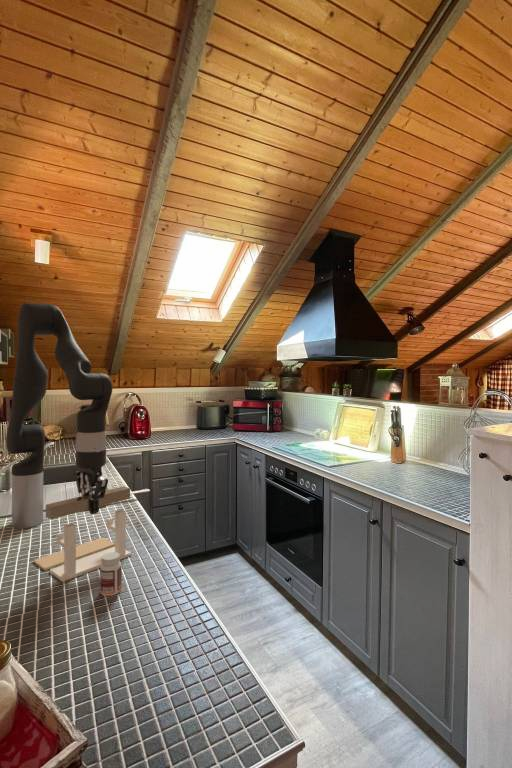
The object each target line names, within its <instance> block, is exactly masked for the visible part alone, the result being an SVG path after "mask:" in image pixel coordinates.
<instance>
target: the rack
mask: <svg viewBox="0 0 512 768" xmlns="http://www.w3.org/2000/svg"><path fill="white" fill-rule="evenodd" d="M114 514H115V515H114V518H113V517H110V518H106V528H107V529H109V530H111V531H113V532H114V543H115V546H113V547H110V548H108V549H105V550H102V551H99V552H96V553H93V554H91V555H88V556H85V557H82V558H79V559H76V546H77V526H76V525H77V524H74V523H68V524H65V525H64V526H63V528H64V529H63V531H62V532H57V533H56V544H58V545H59V546H61V547H62V548H63V550H64V564H62V565H59V566H57V567H54V568H51V569H49V573H50V574H51V575H52V576H54V577H55V578H57V579H58V580H59V581H61V582H62V583H63V582H66V581H69V580H71V579H75V578H76V577H79V576H81V575H84V574H87V573H89V572H92V571H94V570H97V569H100V566H101V564H102V556H103V555H104V554H106V553H110V552H117V553H119V554H120V561H121V560H123V559H126V558H128V557H131V556H132V552H131V551H129V550H127V549H126V546H127V545H126V543H127V542H126V541H127V540H126V532H127V530H126V528H127V526H126V525H127V519H126V514H127V512H126V510H124V509H122V508H121V509H118V510H115V513H114ZM114 520H115V521H114Z"/></svg>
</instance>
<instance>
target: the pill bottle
mask: <svg viewBox="0 0 512 768" xmlns="http://www.w3.org/2000/svg"><path fill="white" fill-rule="evenodd" d="M122 571H123V570H122V562H121V560H120V554H119V553H117V552H110V553H106V554H104V555H103V556H102V564H101V566H100V568H99V576H100V577H99V585H100V586H99V589H100V590H99V592H100V594H101V596H104V597H111V596H116V595H118V594H119V593H120V592H121V591H122V582H123V581H122V580H123V579H122V574H123V573H122Z"/></svg>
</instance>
